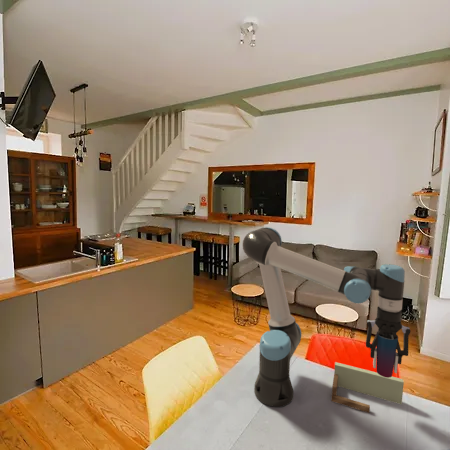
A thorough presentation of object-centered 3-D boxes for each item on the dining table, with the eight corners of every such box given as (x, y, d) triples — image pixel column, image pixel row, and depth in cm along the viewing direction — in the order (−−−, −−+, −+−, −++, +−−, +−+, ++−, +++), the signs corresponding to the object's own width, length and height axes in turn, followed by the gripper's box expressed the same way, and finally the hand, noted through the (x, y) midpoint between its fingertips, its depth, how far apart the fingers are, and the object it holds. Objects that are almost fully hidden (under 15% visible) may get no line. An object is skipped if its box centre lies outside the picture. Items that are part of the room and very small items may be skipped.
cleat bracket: (331, 401, 107) (331, 389, 107) (333, 384, 116) (334, 373, 116) (369, 413, 102) (370, 400, 101) (368, 395, 111) (369, 383, 110)
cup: (398, 380, 100) (401, 340, 98) (377, 377, 101) (380, 338, 99) (391, 368, 106) (394, 331, 104) (371, 366, 108) (374, 329, 106)
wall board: (333, 384, 116) (334, 364, 115) (334, 382, 118) (335, 362, 117) (401, 404, 106) (403, 382, 105) (400, 401, 108) (403, 379, 106)
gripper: (360, 307, 101) (356, 367, 104) (423, 317, 93) (417, 382, 96) (360, 300, 108) (356, 356, 111) (419, 309, 100) (413, 369, 103)
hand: (384, 368), depth 103 cm, fingers closed on cup, 6 cm apart
